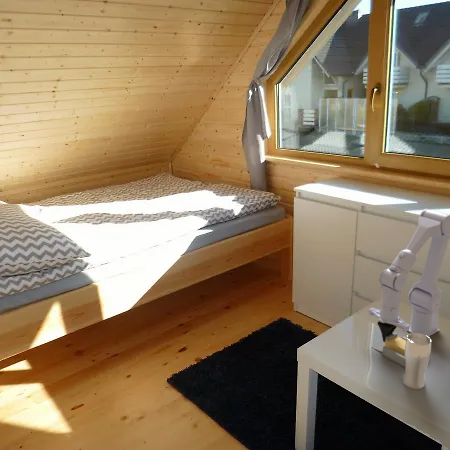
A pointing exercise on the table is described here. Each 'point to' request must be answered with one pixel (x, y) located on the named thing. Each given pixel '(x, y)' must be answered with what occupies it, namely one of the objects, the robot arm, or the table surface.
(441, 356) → the table surface
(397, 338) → the toy bed
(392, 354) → the dock
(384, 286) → the robot arm
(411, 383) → the beer glass
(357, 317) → the table surface
